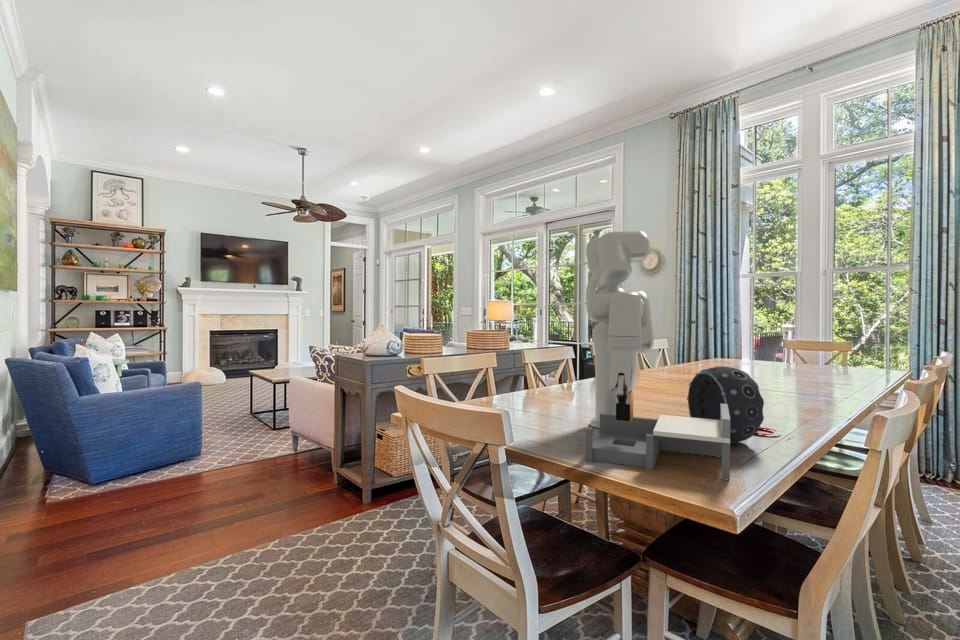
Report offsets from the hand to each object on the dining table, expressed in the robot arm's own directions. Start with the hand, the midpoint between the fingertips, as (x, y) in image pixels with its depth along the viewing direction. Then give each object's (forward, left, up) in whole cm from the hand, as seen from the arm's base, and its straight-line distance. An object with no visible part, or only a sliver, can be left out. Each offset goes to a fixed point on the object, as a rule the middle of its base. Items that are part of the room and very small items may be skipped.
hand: (624, 417), depth 114 cm
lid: (0, +15, -1) cm, 15 cm away
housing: (0, +7, -9) cm, 12 cm away
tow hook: (-37, +32, -9) cm, 50 cm away
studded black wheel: (-23, +22, -9) cm, 33 cm away
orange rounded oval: (0, 0, 0) cm, 0 cm away
